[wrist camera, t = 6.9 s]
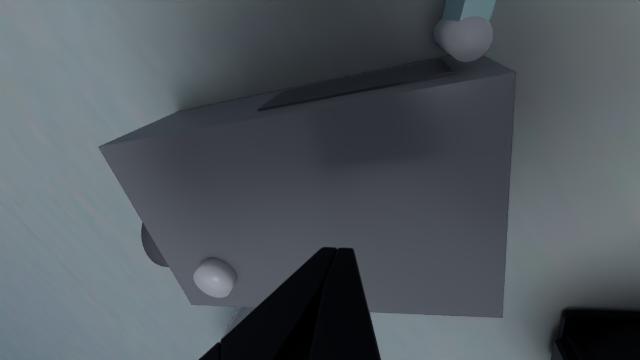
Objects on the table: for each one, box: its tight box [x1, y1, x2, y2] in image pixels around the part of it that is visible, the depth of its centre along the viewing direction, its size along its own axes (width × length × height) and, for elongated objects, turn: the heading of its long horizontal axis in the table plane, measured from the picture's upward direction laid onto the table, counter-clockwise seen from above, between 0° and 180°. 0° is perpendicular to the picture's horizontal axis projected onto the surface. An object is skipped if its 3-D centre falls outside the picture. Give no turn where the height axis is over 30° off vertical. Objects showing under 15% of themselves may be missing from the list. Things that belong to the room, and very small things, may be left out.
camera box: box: [99, 55, 516, 318], centre depth 15 cm, size 18×10×6 cm, turn 104°
